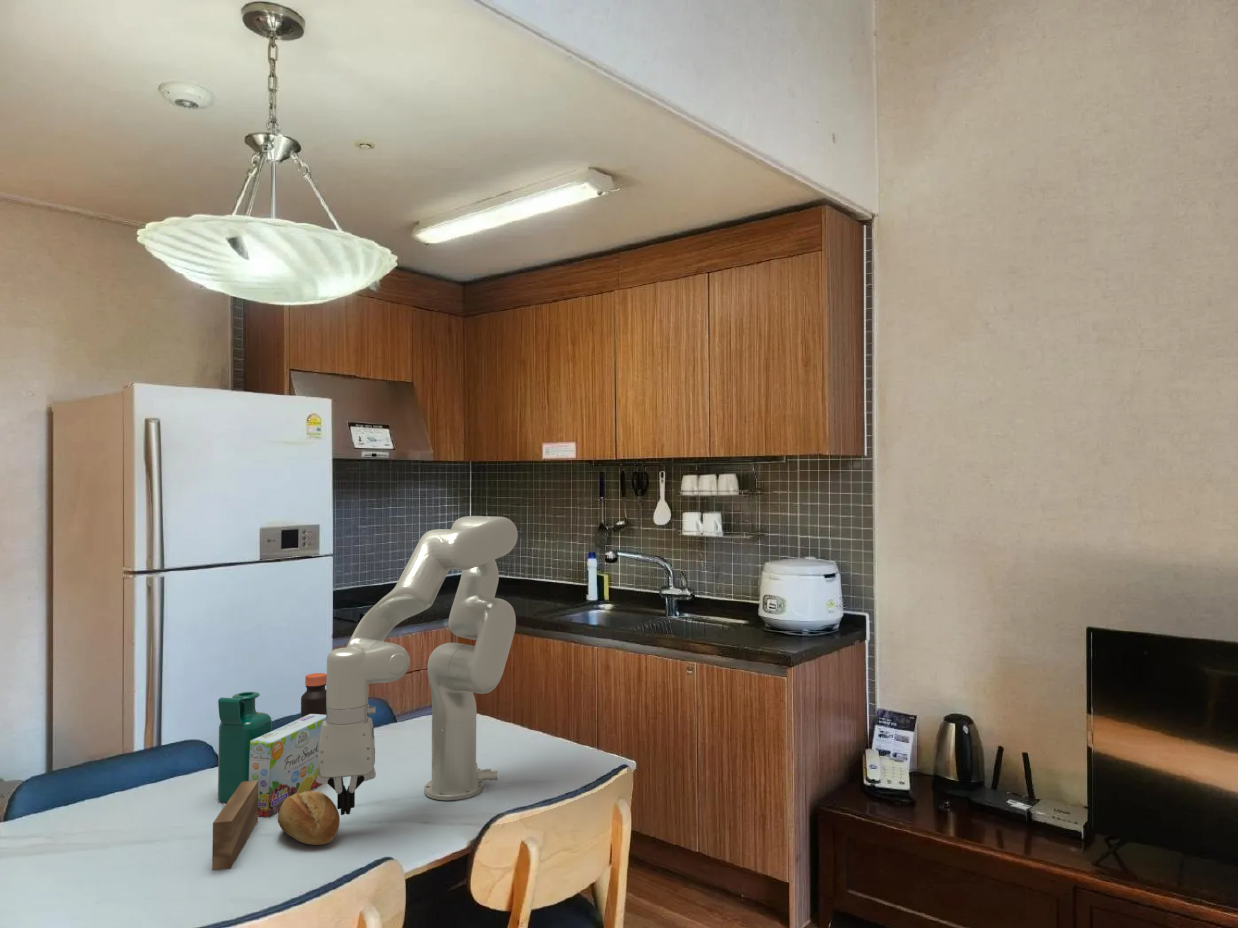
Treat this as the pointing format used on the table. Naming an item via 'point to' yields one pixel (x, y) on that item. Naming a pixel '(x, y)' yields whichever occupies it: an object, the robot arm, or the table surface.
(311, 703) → the bottle
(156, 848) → the table surface
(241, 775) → the pitcher
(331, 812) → the bread roll
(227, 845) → the walnut board
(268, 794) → the snack box
